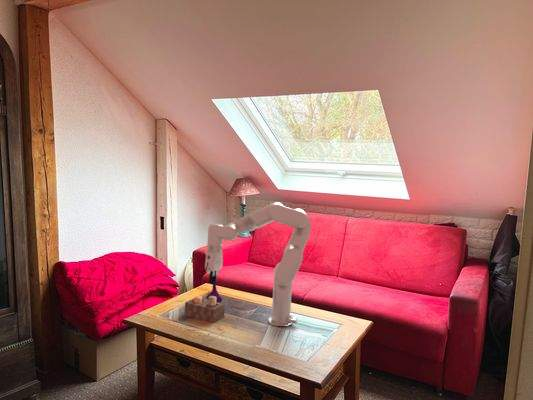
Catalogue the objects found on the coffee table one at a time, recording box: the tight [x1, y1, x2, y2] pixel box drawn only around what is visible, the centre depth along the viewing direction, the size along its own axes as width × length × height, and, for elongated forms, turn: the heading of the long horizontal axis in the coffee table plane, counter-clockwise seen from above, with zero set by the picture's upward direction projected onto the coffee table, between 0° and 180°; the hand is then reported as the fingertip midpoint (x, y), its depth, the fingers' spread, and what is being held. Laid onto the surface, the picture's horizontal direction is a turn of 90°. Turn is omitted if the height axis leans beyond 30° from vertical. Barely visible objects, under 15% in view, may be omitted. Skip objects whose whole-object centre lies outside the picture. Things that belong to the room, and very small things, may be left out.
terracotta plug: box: [193, 295, 203, 304], centre depth 212 cm, size 4×4×7 cm
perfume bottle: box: [205, 272, 223, 303], centre depth 229 cm, size 8×8×18 cm
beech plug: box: [208, 296, 217, 307], centre depth 208 cm, size 4×4×7 cm
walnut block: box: [184, 298, 226, 324], centre depth 211 cm, size 18×10×7 cm, turn 64°
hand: (212, 282), depth 207 cm, fingers closed
